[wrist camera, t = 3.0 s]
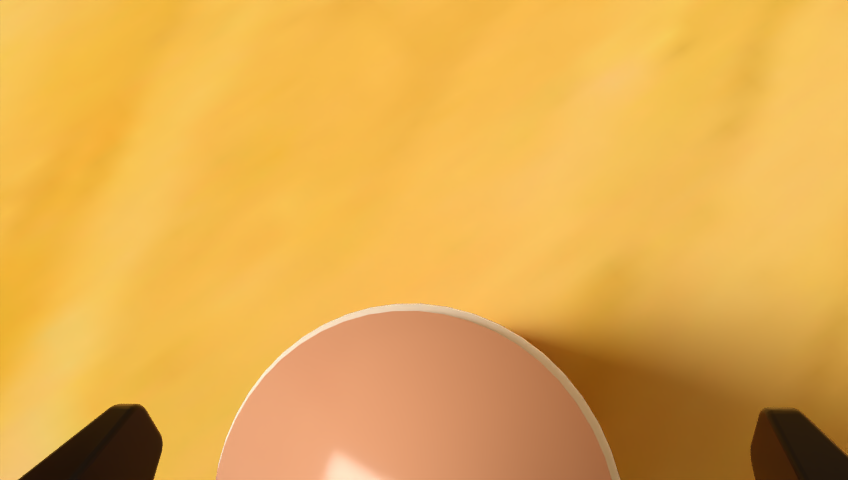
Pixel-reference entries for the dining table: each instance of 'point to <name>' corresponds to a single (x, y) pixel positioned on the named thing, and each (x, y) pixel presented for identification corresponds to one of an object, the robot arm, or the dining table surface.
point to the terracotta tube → (414, 406)
